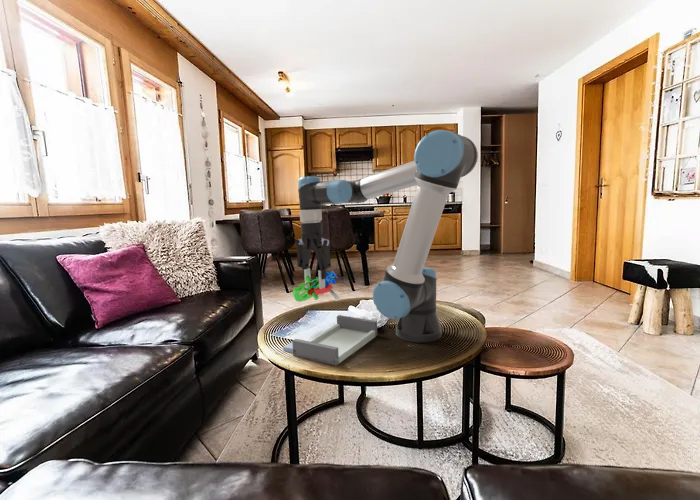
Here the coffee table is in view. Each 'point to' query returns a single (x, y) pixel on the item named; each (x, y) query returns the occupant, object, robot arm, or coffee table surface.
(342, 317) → the tray
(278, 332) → the coffee table surface
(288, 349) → the wing blank
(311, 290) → the toy
